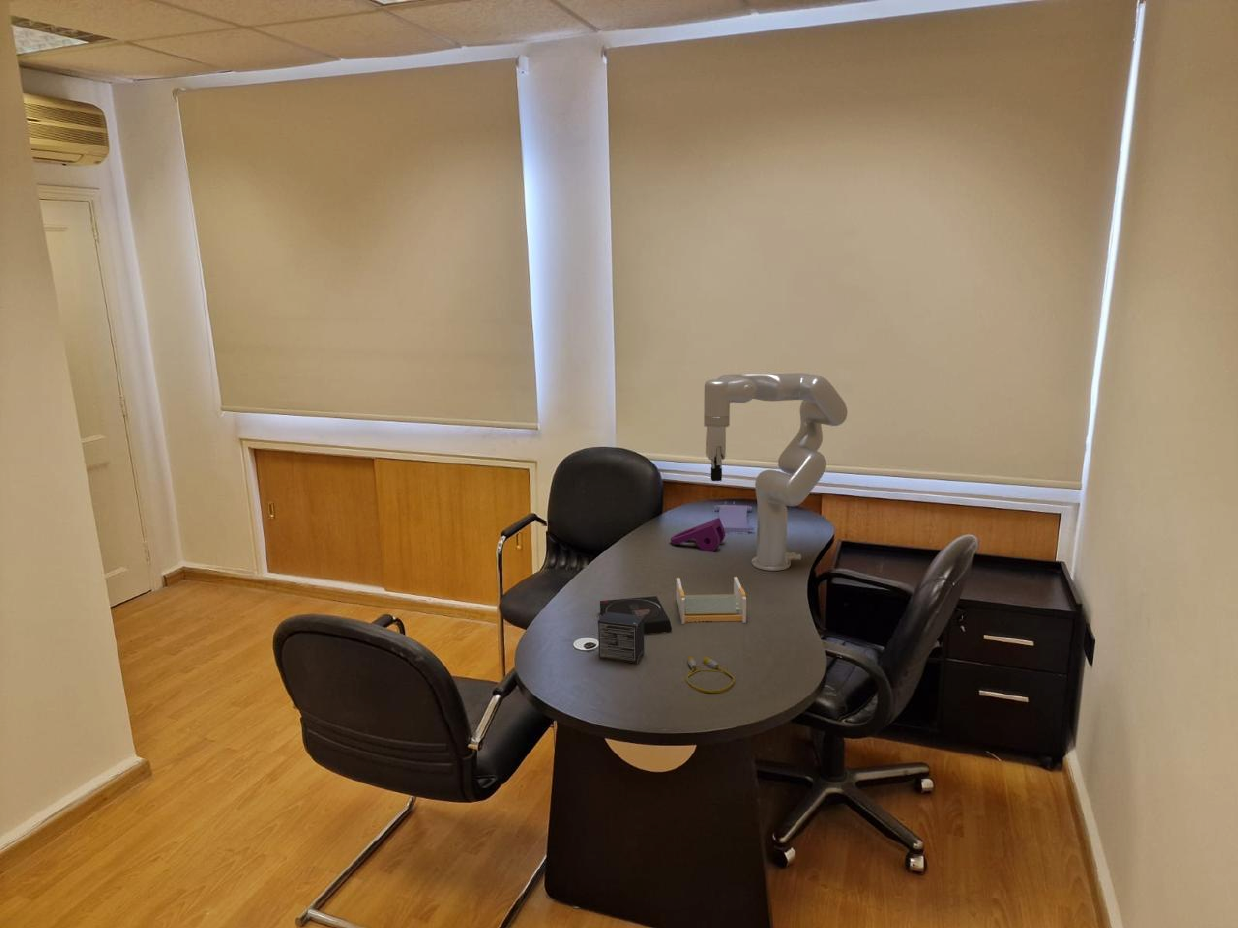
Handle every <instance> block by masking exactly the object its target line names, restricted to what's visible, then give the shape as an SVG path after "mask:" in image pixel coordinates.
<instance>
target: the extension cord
mask: <svg viewBox="0 0 1238 928" xmlns="http://www.w3.org/2000/svg"><path fill="white" fill-rule="evenodd" d="M686 661H687V663H688V666H689V667H690V668H691V670H690V671H689V673H688V674H687V676H686V679H685V681H686V683H687V684H688V685H689V686H690V687H691V689H693V690H694V691H698V692H699V693H700V692H701V693H705V694H706V693H708V694H722V693H725V692H727V691H729V690H730V689H732V688H733V686H734V685H735V683H736V678H735V677H734V675H732V674H731V673H730V672H728V671H727V670H725V669H723V668H721V667H720V664H719V663H717V661H714V660H713V659H711V657H710V656H709V657H708V656H707V657H704V658H703V660H702V664H703V665H705V666H708V667H709V668H711V669H709V668H708V669H706V668H705V669H704V668H702V669H701V668H700V669H697V662H696V660H695V659H694V657H692V656H689V657H688V658H687V660H686ZM718 669H719V670H718ZM701 671H703V672H705V671H706V672H707V671H709V672H717V673H722V674H725V675H728V676H729V677H731V678H732V682H731V683H730V684H729V685H727V687H726V686H725V687H724V688H721V689H716V690H707V689H703V688H699V687H698V686H695V685H693V684H692V683H691V682H690V681H689V677H690V676H692V675H693V674H695V673H697V672H701Z"/></svg>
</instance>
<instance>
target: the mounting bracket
mask: <svg viewBox="0 0 1238 928" xmlns="http://www.w3.org/2000/svg"><path fill="white" fill-rule="evenodd" d="M725 538H726V533H725V530H724V527H723V525H722V523H721V521H720V519H719V517H717V518H715V519H712V520H710V521H707V522H704V523H701V524H699V525H696V526H693V527H691V528H688V529H685V530H683V531H680V532H678V533H676V534H675V535H673V536H672V537H671V538H670V541H671V544H672V545H673V546H677V545H679V544H682V543H685V542H688V541H691V540H695V543H696V545H697V547H698V548H699V549H700V550H701V551H704V552H709V553H710V552H713V551H715V550H717V548H718V547H719V546H720V544H722V543H723V541H724V540H725Z"/></svg>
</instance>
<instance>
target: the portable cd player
mask: <svg viewBox="0 0 1238 928" xmlns="http://www.w3.org/2000/svg"><path fill="white" fill-rule="evenodd" d="M605 612H613V613H622V614H630V615H638V616H644V634H645V635H652V634H651V633H656V634H662V633H661V632H666V633H671V632H672V630H673V628H672V623H671V620H670V617H669V616H668V614H667V613H666V611H665V609H664V606H663V605H662V604H661V602H660V600H659V598H658V596H655V595H654V596H653V595H652V596H646V597H645V596H644V597H643V596H642V597H632V598H630V597H629V598H620V599H619V598H618V599H607V600H599V613H600V614H599V615H600V617H601V616H602V615H603V614H604V613H605Z"/></svg>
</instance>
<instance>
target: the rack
mask: <svg viewBox="0 0 1238 928" xmlns="http://www.w3.org/2000/svg"><path fill="white" fill-rule="evenodd" d="M733 580H734V581H733V594H735V596H736V615H700V616H685V593H684V592H685V591H684V589H683V588H682V582H681V579H680V577H677V578H676V603H677V609H678V612H679V617H680V623H681V625H685V623H696V622H697V623H700V622H702V621H704V622H705V621H712V622H742V623H744V624H745V623H747V622H746V620H747V617H746V616H747V598H746V597H747V596H746V592H745V589H744V587H742V585H741V584H740V580H739V579H738V577H737V576H735V577H733ZM695 621H696V622H695ZM699 621H700V622H699ZM704 622H703V623H704ZM705 623H706V622H705Z"/></svg>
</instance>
